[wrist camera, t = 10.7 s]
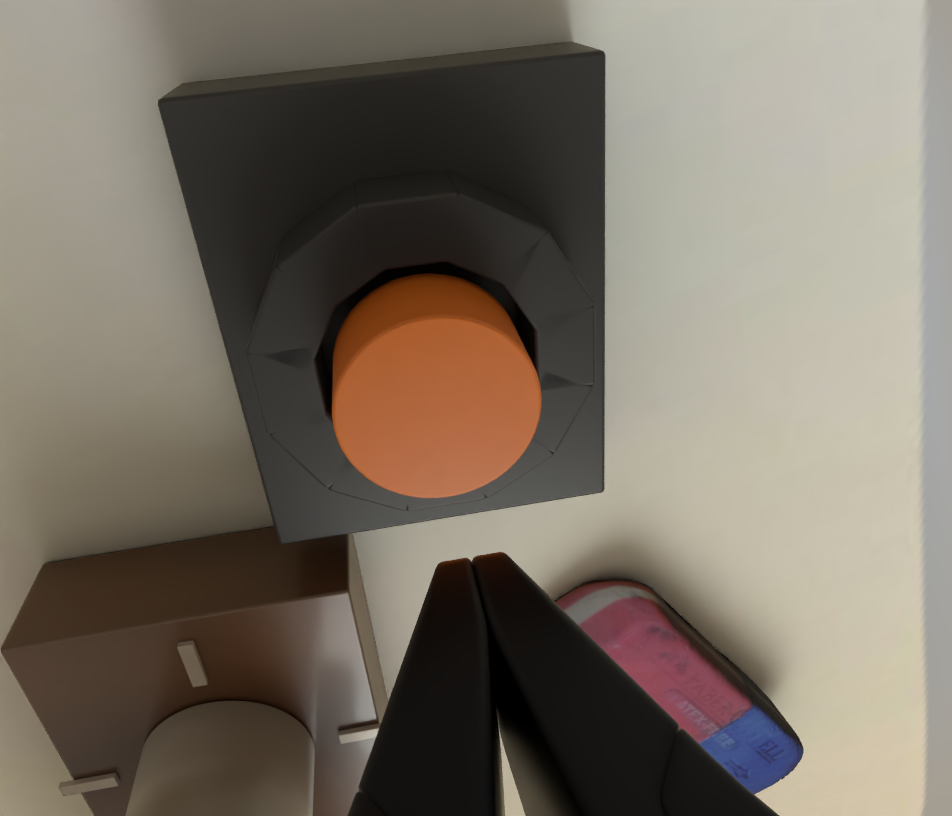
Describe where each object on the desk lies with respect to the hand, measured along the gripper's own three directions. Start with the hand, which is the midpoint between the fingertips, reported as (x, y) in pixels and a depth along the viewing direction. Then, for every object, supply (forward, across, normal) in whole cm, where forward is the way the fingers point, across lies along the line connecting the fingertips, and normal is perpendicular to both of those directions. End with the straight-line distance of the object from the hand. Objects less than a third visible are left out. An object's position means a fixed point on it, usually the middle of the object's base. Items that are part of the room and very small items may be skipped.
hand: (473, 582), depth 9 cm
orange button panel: (+10, 0, 0) cm, 10 cm away
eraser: (+10, -7, +15) cm, 19 cm away
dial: (+7, +6, +11) cm, 14 cm away
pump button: (+6, 0, 0) cm, 6 cm away
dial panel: (+10, +6, +11) cm, 16 cm away
